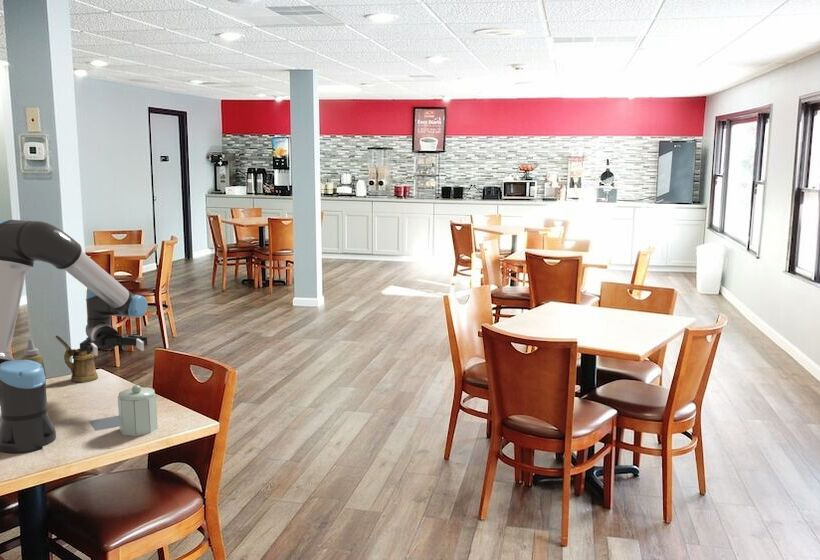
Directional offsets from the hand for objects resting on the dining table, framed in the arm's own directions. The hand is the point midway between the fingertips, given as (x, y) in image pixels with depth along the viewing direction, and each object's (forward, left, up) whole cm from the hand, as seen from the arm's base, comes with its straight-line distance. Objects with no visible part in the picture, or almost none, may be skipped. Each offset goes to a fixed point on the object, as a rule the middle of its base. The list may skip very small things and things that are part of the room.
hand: (119, 349), depth 226 cm
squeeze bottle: (-19, +49, -23) cm, 58 cm away
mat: (-5, -3, -22) cm, 23 cm away
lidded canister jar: (+1, -14, -22) cm, 26 cm away
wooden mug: (-4, +52, -23) cm, 57 cm away
